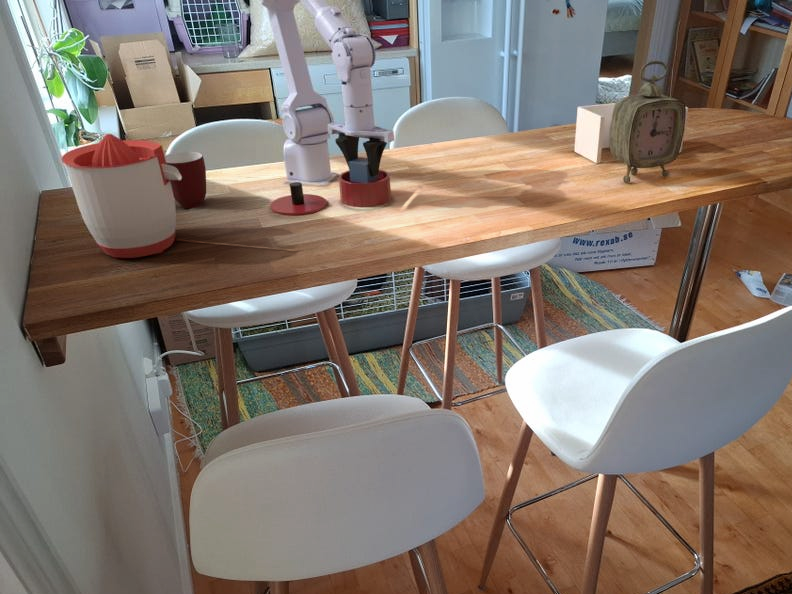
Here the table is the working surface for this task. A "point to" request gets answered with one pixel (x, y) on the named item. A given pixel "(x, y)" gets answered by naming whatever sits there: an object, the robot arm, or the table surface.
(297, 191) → the tin lid
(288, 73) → the robot arm
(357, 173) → the block
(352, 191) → the tin
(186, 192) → the mug
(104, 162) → the citrus juicer
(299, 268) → the table surface
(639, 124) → the tabletop clock
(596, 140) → the storage container
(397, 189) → the table surface
